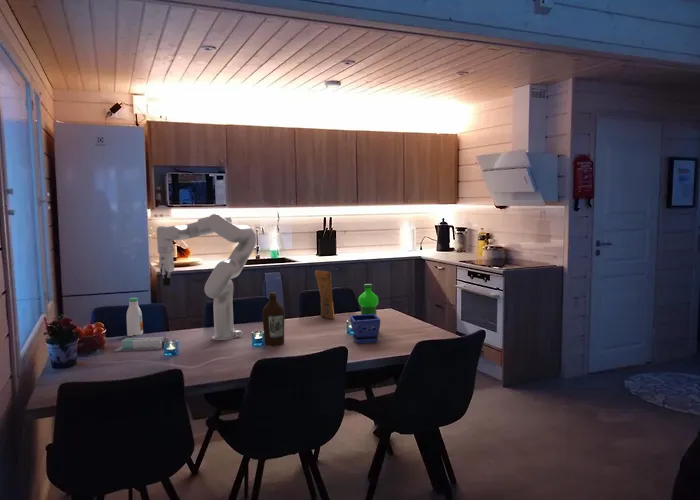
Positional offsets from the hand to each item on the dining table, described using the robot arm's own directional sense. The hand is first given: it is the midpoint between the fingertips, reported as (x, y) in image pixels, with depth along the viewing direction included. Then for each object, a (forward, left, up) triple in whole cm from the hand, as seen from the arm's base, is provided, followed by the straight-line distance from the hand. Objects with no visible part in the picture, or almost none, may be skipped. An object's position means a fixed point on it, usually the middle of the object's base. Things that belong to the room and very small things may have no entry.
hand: (167, 285), depth 285 cm
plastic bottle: (-104, +4, -27) cm, 108 cm away
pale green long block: (+4, +27, -26) cm, 38 cm away
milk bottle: (+20, -6, -27) cm, 34 cm away
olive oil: (-57, +23, -27) cm, 67 cm away
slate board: (+4, +20, -27) cm, 34 cm away
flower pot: (-101, +23, -27) cm, 107 cm away
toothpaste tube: (+5, +23, -26) cm, 35 cm away
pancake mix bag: (-81, -41, -27) cm, 95 cm away
